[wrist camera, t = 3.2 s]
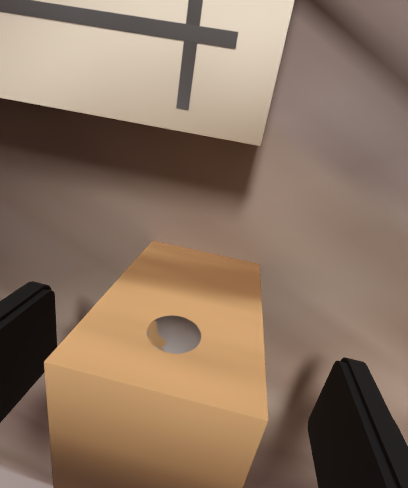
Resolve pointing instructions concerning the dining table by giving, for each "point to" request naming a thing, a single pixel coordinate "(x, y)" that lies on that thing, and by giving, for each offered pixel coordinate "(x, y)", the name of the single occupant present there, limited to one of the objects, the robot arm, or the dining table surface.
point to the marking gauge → (162, 377)
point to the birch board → (148, 60)
